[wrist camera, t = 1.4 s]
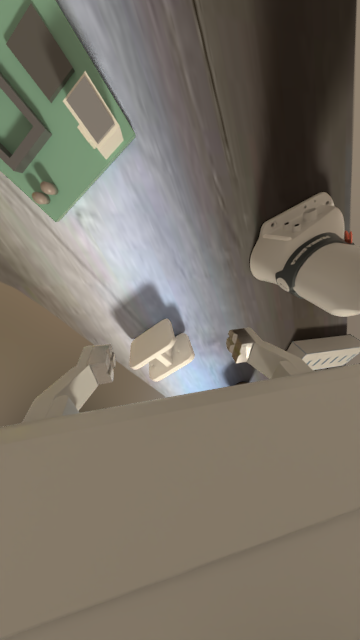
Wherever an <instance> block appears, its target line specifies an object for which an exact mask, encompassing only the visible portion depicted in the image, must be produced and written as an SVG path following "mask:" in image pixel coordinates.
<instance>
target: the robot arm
mask: <svg viewBox="0 0 360 640" xmlns="http://www.w3.org/2000/svg"><path fill="white" fill-rule="evenodd" d="M271 224H272V226H271ZM343 238H344V219H343V215H342V213H341V211H340V210H339V209H338V208H337V207H334V203H333V201H332V199H331V197H330V196H329V195H328V194H327V193H326V192H321V193H318V194H316V195H314V196H313V197H311V198H309V199H307V200H305V201H303V202H301V203H300V204H298V205H296V206H294V207H292V208H290V209H288V210H287V211H285V212H283V213H281V214H279V215H277V216H275V217H273V218H272V219H270V220H268V221H266V222H265V223H264V224H263V225H262V227H261V230H260V235H259V239H258V241H257V243H256V245H255V247H254V249H253V251H252V254H251V258H250V269H251V272H252V274H253V275H254V277H255V278H257V279H259V280H261V281H268V282H272V283H274V284H277V285H279V286H280V287H281V288H283V289H284V290H285V291H287V292H289V293H291V294H293V295H295V296H297V297H298V298H301V299H306V300H308V301H309V302H311V303H313V304H315V305H316V306H318V307H320V308H321V309H323V310H325V311H327V312H328V313H330V314H332V315H335V316H341V317H346V316H353V315H357V314H360V246H355V245H354V243H352V232H351V231H350V233H349V234H348V232H347V231H345V241H344V240H343ZM228 335H229V337H228V338H227V341H226V345H227V349H228V351H229V352H231V353H232V357H233V359H234V360H235V362H236V363H241V362H247V363H249V364H250V365H252V366H253V367H254V368H256V369H257V370H258V371H260V372H261V373H263V374H264V375H265V376H267V377H268V378H269V379H268V380H263V381H257V382H252V383H246V384H240V385H235V386H229V387H223V388H218V389H212V390H207V391H201V392H195V393H190V394H184V395H178V396H173V397H167V398H161V399H156V400H150V401H144V402H139V403H134V404H127V405H122V406H116V407H111V408H105V409H99V410H94V411H88V412H82V413H79V409H80V408H81V407H82V405H83V404H84V403H85V402H86V400H87V399H88V398H89V397H90V395H91V394H92V393H93V391H94V390H95V389H96V388H97V386H98V385H99V384H104V383H109V382H113V376H114V371H113V369H114V368H115V355H114V353H113V352H112V349H113V348H112V345H111V344H102V345H94V346H85V347H84V348H83V351H82V353H81V356H80V359H79V361H78V363H77V366H76V367H73V368H72V369H71V370H70V371H68V372H67V373H66V374H64V375H63V376H62V377H61V378H60V379H59V380H57V381H56V382H55V383H54V384H52V385H51V386H50V387H49V388H48V389H46V390H45V391H44V392H43V393H42V394H40V395H39V396H38V397H37V398H36V399H35V400H34V401H33V403H32V405H31V407H30V409H29V411H28V412H27V414H26V416H25V418H24V420H23V422H22V423H21V424H15V425H9V426H4V427H0V640H360V363H359V364H353V365H347V366H342V367H336V368H331V369H325V370H319V371H313V370H312V369H311V368H310V367H309V366H308V365H307V364H306V363H305V362H304V361H303V360H302V359H301V358H299V357H297V356H295V355H293V354H291V353H289V352H287V351H284V350H282V349H280V348H278V347H276V346H274V345H272V344H269V343H267V342H263V341H262V340H261V339H260V338H259V336H258V335H257V334H256V333H255V332H254V331H253V330H252V329H251V328H243V329H234V330H230V331H229V333H228Z"/></svg>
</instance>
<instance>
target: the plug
mask: <svg viewBox="0 0 360 640" xmlns="http://www.w3.org/2000/svg"><path fill="white" fill-rule="evenodd" d="M63 102H64V104H65V105H66V106H67V108H68V109H69V110H70V112H71V113H72V115H73V116H74V117H75V119H76V120H77V121H78V123H79V125H78V127H77V128H78V129H79V130H80V132H81V133H82V134H83V136H84V137H85V138H86V140H87V141H88V142H89V144H90V145H91V146H92V147H93V148H94V149H95V148H96V147H97V149H98V150H99V151H100V153H101V154H102V155H103V156H104V158H105V159H106V160H107V159H108V157H109V156H110V155H111V154H112V153H113V152H114V151H115V150H116V148H117V147H118V146H119V145H120V144H121V143H122V142H123V141H124V140H123V136H122V133H121V129H120V126H119V124H118V123H117V121H116V119H115V118H114V116H113V115H112V113H111V111H110V110H109V108H108V107H107V105H106V103H105V102H104V100H103V99H102V97H101V95H100V94H99V92H98V91H97V89H96V87H95V86H94V84H93V83H92V81H91V79H90V78H89V76H88V75H87V73H86V71H85V72H84V73H83V75H82V76H81V77H80V79H79V80H78V81H77V83H76V84H75V85H74V87H73V88H72V89H71V91H70V92H69V93H68V95H67V96H66V97H65V99H64V100H63Z"/></svg>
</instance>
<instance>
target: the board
mask: <svg viewBox="0 0 360 640" xmlns="http://www.w3.org/2000/svg"><path fill="white" fill-rule="evenodd" d="M85 71H86V73H87V75H88V76H89V78H90V79H91V81H92V83H93V84H94V86H95V87H96V89H97V91H98V92H99V94H100V95H101V97H102V99H103V100H104V102H105V103H106V105H107V107H108V108H109V110H110V111H111V113H112V115H113V116H114V118H115V119H116V121H117V123H118V124H119V126H120V129H121V133H122V136H123V140H124V141H123V142H122V143H121V144H120V145H119V146H118V147H117V148H116V150H115V151H114V152H113V153H112V154H111V155H110V156H109V157H108V159H107V160H106V159H105V158H104V156H103V155H102V154H101V153H100V151H99V150H98V149H97V147H96V148H95V149H94V148H93V147H92V146H91V145H90V144H89V142H88V141H87V140H86V138H85V137H84V136H83V134H82V133H81V132H80V130H79V129H78V128H77V127H78V125H79V123H78V121H77V120H76V119H75V117H74V116H73V115H72V113H71V112H70V110H69V109H68V108H67V106H66V105H65V104H64V102H63V100H64V99H65V97H66V96H67V95H68V93H69V92H70V91H71V89H72V88H73V87H74V85H75V84H76V83H77V81H78V80H79V79H80V77H81V76H82V75H83V73H84V72H85ZM134 138H135V133H134V131H133V130H132V128H131V126H130V125H129V123H128V121H127V119H126V118H125V116H124V114H123V113H122V111H121V109H120V108H119V106H118V104H117V103H116V101H115V99H114V98H113V96H112V94H111V93H110V91H109V89H108V88H107V86H106V84H105V83H104V81H103V79H102V78H101V76H100V74H99V73H98V71H97V69H96V68H95V66H94V64H93V63H92V61H91V59H90V57H89V56H88V54H87V52H86V51H85V49H84V47H83V46H82V44H81V42H80V41H79V39H78V37H77V36H76V34H75V32H74V31H73V29H72V27H71V26H70V24H69V22H68V21H67V19H66V17H65V16H64V14H63V12H62V11H61V9H60V7H59V6H58V4H57V2H56V1H55V0H0V171H1V172H2V173H3V174H5V175H6V176H7V177H8V178H9V179H10V180H11V181H12V182H13V183H14V184H15V185H16V186H17V187H19V188H20V189H21V190H22V191H23V192H24V193H25V194H26V195H27V196H28V197H29V198H30V199H31V200H33V201H34V202H35V203H36V204H37V205H38V206H39V207H40V208H41V209H42V210H43V211H44V212H45V213H47V214H48V215H49V216H50V217H51V218H52V219H53V220H54V221H55V222H58V221H60V220H61V219H62V218H63V216H64V215H65V214H66V213H67V212H68V211H69V210H70V209H71V208H72V207H73V205H74V204H75V203H76V202H77V201H78V200H79V199H80V198H81V197H82V195H83V194H84V193H85V192H86V191H87V190H88V189H89V188H90V187H91V186H92V184H93V183H94V182H95V181H96V180H97V179H98V178H99V177H100V176H101V175H102V173H103V172H104V171H105V170H106V169H107V168H108V167H109V166H110V165H111V164H112V162H113V161H114V160H115V159H116V158H117V157H118V156H119V155H120V154H121V153H122V151H123V150H124V149H125V148H126V147H127V146H128V145H129V144H130V143H131V142H132V140H133V139H134Z"/></svg>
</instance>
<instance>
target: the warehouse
mask: <svg viewBox="0 0 360 640" xmlns="http://www.w3.org/2000/svg"><path fill="white" fill-rule="evenodd" d="M287 352H289V353H291V354H293V355H295V356H297V357H299V358H301V359H302V360H303V361H304V362H305V363H306V364H307V365H308V366H309V367H310V368H311V369H312V370H318V369H324V368H331V367H337V366H343V365H344V364H346V363H347V362H348V361H350V360H351V359H352V358H353V357H355V356H356V355H358V354H359V353H360V340H359V339H357V338H355V337H354V336H352V335H351V334H347V335H344V336H335V337H327V338H318V339H309V340H301V341H292V343H291V345H290V346H289V348H288V350H287Z"/></svg>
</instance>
